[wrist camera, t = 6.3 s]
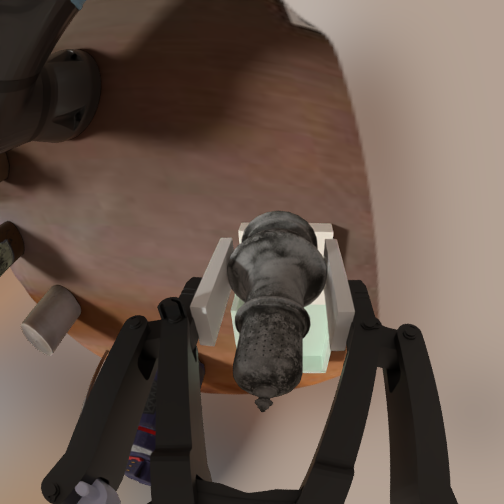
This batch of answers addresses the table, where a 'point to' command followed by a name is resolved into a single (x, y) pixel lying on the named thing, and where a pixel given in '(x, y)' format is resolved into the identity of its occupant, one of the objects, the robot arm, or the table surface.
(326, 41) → the table surface
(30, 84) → the robot arm
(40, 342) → the pillar candle
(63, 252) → the table surface
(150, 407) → the grenade
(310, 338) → the box
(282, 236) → the dark grey tall piece
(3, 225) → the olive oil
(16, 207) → the table surface
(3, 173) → the beer bottle
